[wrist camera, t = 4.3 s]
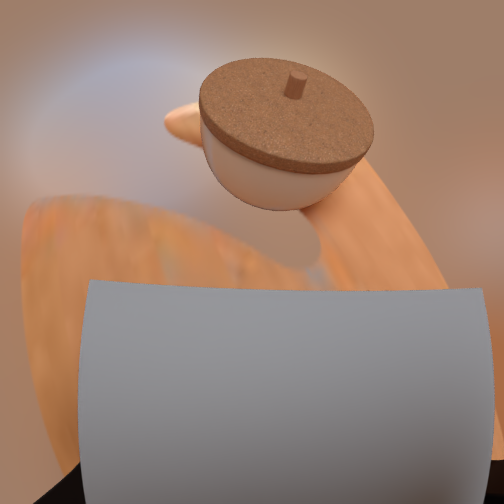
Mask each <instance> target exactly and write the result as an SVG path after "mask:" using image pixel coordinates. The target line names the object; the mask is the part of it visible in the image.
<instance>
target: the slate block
mask: <svg viewBox="0 0 504 504" xmlns="http://www.w3.org/2000/svg"><path fill="white" fill-rule="evenodd" d="M494 397H495V395H494V370H493V357H492V347H491V340H490V331H489V324H488V318H487V312H486V307H485V302H484V297H483V292H482V288H469V289H468V288H467V289H443V290H408V291H293V290H255V289H228V288H206V287H187V286H170V285H154V284H140V283H126V282H114V281H102V280H90V282H89V287H88V293H87V299H86V306H85V313H84V321H83V329H82V338H81V349H80V362H79V380H78V433H79V450H80V462H81V472H82V480H83V488H84V494H85V501H86V504H483V501H484V497H485V492H486V487H487V482H488V476H489V470H490V463H491V455H492V446H493V434H494V410H495V398H494Z"/></svg>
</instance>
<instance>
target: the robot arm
mask: <svg viewBox="0 0 504 504" xmlns="http://www.w3.org/2000/svg"><path fill="white" fill-rule="evenodd" d="M33 504H86V501H85V494H84V488H83V480H82V472H81V462H79V463H78V465H77V466H76V467H75V468H74V469H73V470H72V471H71V472H70V473H69V474H68V475H66V476H65V477H64V478H63V479H62V480H61V481H60V482H59V483H57V484H56V485H55V486H54V487H53V488H52V489H50V490H49V491H48V492H47V493H46V494H45V495H43V496H42V497H41V498H39V499H38V500H37V501H36V502H34V503H33ZM483 504H504V460H491V463H490V470H489V476H488V482H487V487H486V492H485V497H484V501H483Z"/></svg>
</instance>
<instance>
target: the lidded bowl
mask: <svg viewBox="0 0 504 504" xmlns="http://www.w3.org/2000/svg"><path fill="white" fill-rule="evenodd" d="M199 109H200V115H201V116H200V131H201V138H202V144H203V150H204V153H205V157H206V160H207V162H208V164H209V167H210V169H211V171H212V172H213V174H214V175H215V176H216V178H217V180H218V181H219V182H220V184H221V185H222V186H223V187H224V188H225V189H226V190H227V191H229V192H230V193H231V194H232V195H234V196H235V197H236V198H238V199H240V200H241V201H243V202H245V203H247V204H250V205H252V206H255V207H258V208H261V209H266V210H272V211H288V210H297V209H301V208H305V207H308V206H310V205H312V204H314V203H317V202H319V201H321V200H322V199H324V198H325V197H327V196H328V195H329V194H331V193H332V192H333V191H334V190H336V189H337V188H338V187H339V185H340V184H341V183H342V182H343V181H344V180H345V179H346V178H347V177H348V176H349V174H350V173H351V172H352V170H353V169H354V168H355V166H356V164H357V163H358V162H359V161H360V160H361V159H362V158H363V157H364V155H365V154H366V153H367V151H368V150H369V148H370V146H371V144H372V142H373V136H374V128H373V122H372V119H371V117H370V114H369V113H368V111H367V109H366V107H365V106H364V104H363V103H362V102H361V101H360V100H359V98H358V97H356V95H355V94H354V93H353V92H352V91H350V90H349V89H348V88H347V87H346V86H344V85H343V84H341V83H340V82H339V81H337V80H335V79H334V78H332V77H330V76H328V75H327V74H325V73H322V72H321V71H319V70H316V69H314V68H311V67H308V66H306V65H302V64H299V63H296V62H291V61H287V60H280V59H273V58H251V59H243V60H238V61H233V62H230V63H228V64H225V65H223V66H221V67H219V68H217V69H215V70H214V71H213V72H212V73H211V74H209V75H208V77H207V78H206V79H205V80H204V81H203V83H202V86H201V88H200V94H199Z"/></svg>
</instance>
